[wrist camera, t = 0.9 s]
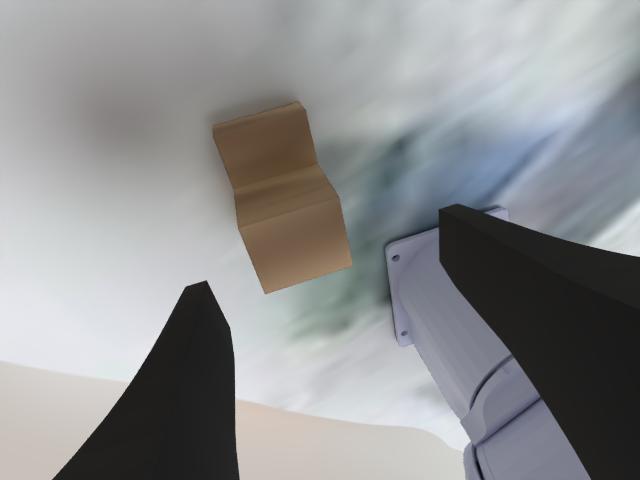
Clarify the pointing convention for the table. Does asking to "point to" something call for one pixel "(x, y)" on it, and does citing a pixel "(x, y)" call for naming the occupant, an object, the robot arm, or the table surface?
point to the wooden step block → (282, 197)
